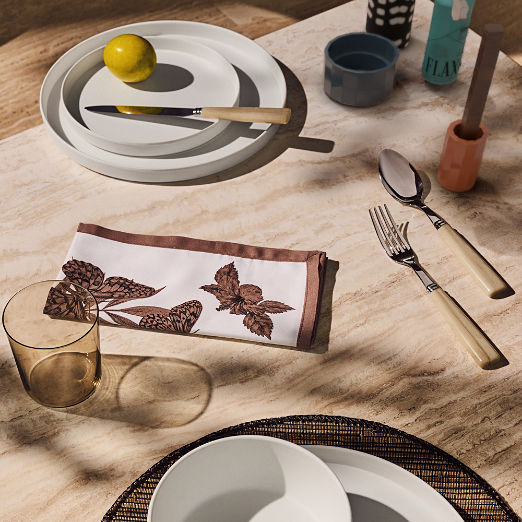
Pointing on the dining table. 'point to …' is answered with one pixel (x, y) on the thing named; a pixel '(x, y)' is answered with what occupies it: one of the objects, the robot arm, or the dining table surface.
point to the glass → (391, 20)
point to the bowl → (360, 68)
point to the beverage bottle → (445, 43)
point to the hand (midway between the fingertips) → (497, 16)
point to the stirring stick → (481, 80)
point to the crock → (461, 158)
